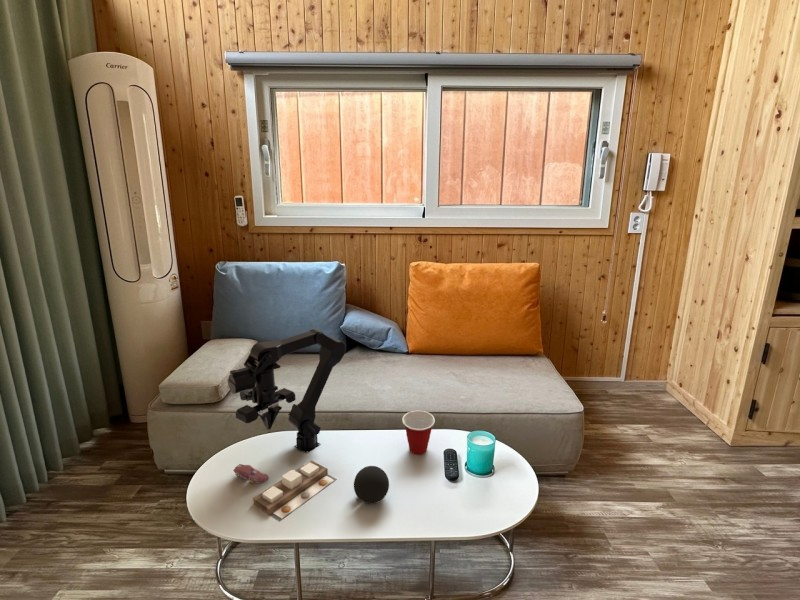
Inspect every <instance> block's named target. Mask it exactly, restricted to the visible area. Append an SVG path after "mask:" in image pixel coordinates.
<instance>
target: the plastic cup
mask: <svg viewBox="0 0 800 600" xmlns="http://www.w3.org/2000/svg"><path fill="white" fill-rule="evenodd" d="M435 422H436V420H435V417H434V416H433V414H431V413H430V412H428V411H424V410H412V411H408V412H407V413H404V415H403V416H402V424H403V425H404V428H405V434H406V439H407V443H408V449H409V451H410V453H411V454H413V455H417V456H419V455H420V456H421V455H423V454H425V453H426V452H427V450H428V446H429V443H430V438H431V433H432V429H433V426H434V424H435Z"/></svg>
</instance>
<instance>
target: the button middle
mask: <svg viewBox="0 0 800 600" xmlns="http://www.w3.org/2000/svg"><path fill="white" fill-rule="evenodd" d="M281 480H282V485H284V486H285V487H287V488H289V489H290V490H292V489H294V488H295V487H296V486H298V485H299V484H301V483H302V475H301V474H300V473H298V472H296V470H294V469H290V470H288V472H285V473H284V474H283V475H281Z"/></svg>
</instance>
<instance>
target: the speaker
mask: <svg viewBox="0 0 800 600" xmlns="http://www.w3.org/2000/svg"><path fill="white" fill-rule="evenodd" d="M389 488H390V479H389V478H388V475H387V472H385V471H384V470H383V469H382V468H380V467H378V466H376V465H367V466H365V467H362V468H360V470H359V471H358V472H357V474H356V475H355V478H354V480H353V489H354V490H353V491H354V493H355V495H356V497H357V498H358V499H359V500H360V501H361V502H362V503H365V504H370V505H373V504H377V503H379V502H381V501H382V500H383V499H384V498H385V497H386V496H387V495H388V492H389Z"/></svg>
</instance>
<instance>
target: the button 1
mask: <svg viewBox="0 0 800 600" xmlns="http://www.w3.org/2000/svg"><path fill="white" fill-rule="evenodd" d="M272 486H273V485H272ZM270 487H271V486H270ZM270 487H269V488H270ZM267 489H268V488H267ZM267 489H266V490H267ZM264 491H265V490H264ZM264 491H262V492H263V493H262V492H261V493H262V498H263V499H265V500H267V501H268V502H270V503H271V504H272V503H273V502H275V501H276V500H278V499H279V498H280V497H282V496H283V491H281V490H280V489H278V488H276V487H275V486H273V487H271V488H270V489H268V490H267V491H265V492H264Z"/></svg>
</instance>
